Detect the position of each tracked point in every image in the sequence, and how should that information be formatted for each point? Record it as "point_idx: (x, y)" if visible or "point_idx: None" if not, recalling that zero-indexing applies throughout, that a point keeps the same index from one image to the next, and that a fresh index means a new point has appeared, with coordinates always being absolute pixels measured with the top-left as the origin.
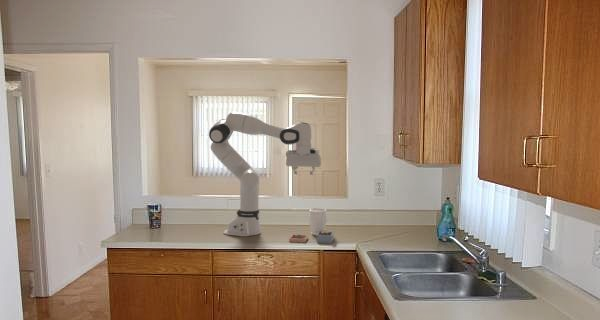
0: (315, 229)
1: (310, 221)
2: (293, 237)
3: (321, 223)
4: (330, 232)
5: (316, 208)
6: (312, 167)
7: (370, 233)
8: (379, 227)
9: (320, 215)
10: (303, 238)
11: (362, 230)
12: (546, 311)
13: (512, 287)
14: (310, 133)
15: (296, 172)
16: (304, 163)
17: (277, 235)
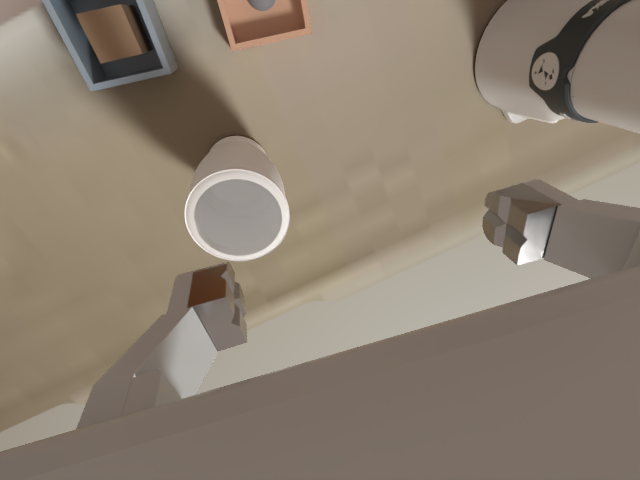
0: (231, 141)
1: (262, 155)
2: (302, 28)
3: (201, 161)
4: (104, 81)
5: (267, 252)
6: (143, 404)
7: (48, 275)
8: (81, 357)
9: (202, 176)
10: (251, 38)
11: (108, 298)
12: None
13: None
14: None
15: (508, 213)
16: (442, 434)
17: (394, 63)
